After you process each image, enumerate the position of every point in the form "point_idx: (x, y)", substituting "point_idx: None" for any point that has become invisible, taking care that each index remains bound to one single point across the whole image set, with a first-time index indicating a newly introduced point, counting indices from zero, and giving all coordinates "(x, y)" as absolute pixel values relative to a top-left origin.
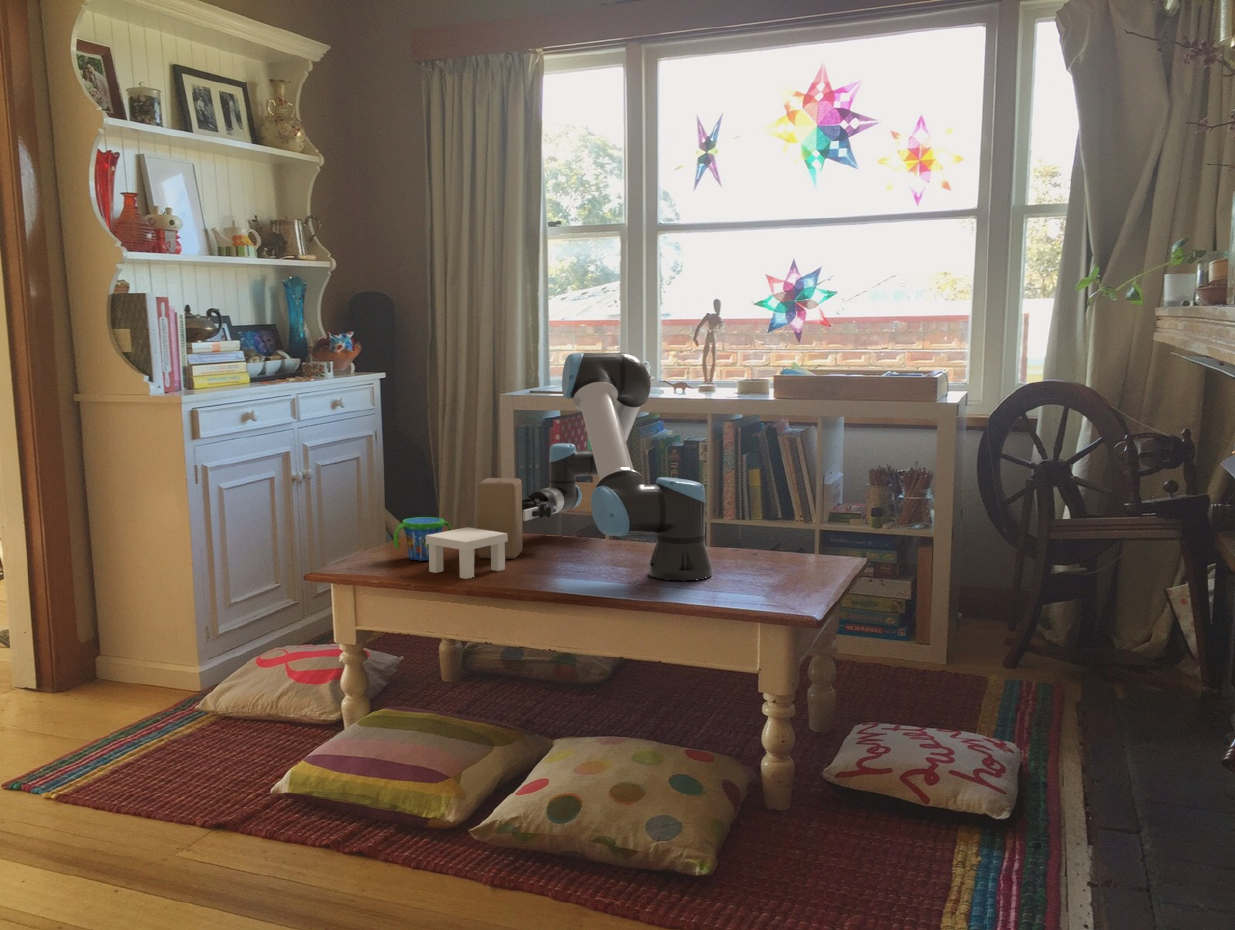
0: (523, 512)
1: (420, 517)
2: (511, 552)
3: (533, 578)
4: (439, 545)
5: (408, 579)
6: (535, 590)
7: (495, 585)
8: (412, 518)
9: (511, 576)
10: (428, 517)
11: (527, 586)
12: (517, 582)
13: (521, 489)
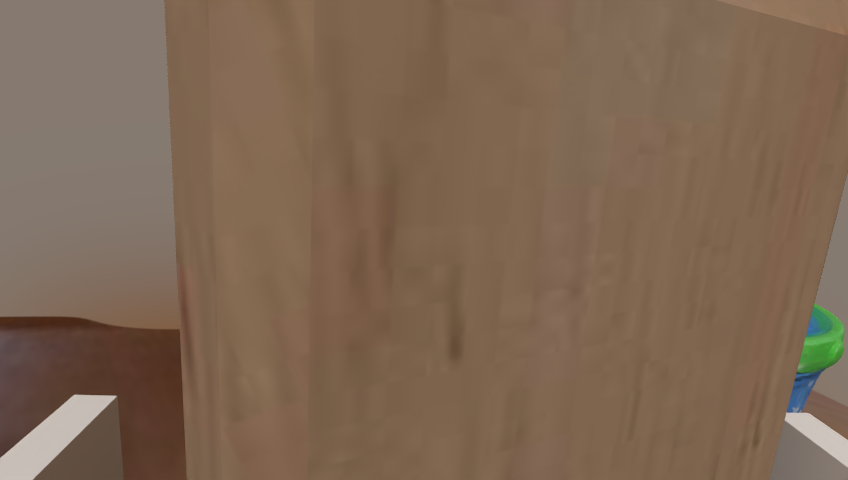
0: (108, 423)
1: (832, 325)
2: None
3: (36, 398)
4: None
5: None
6: (32, 329)
7: (175, 332)
8: (815, 310)
9: (141, 394)
10: (817, 335)
11: (62, 343)
12: (104, 359)
13: (172, 146)
